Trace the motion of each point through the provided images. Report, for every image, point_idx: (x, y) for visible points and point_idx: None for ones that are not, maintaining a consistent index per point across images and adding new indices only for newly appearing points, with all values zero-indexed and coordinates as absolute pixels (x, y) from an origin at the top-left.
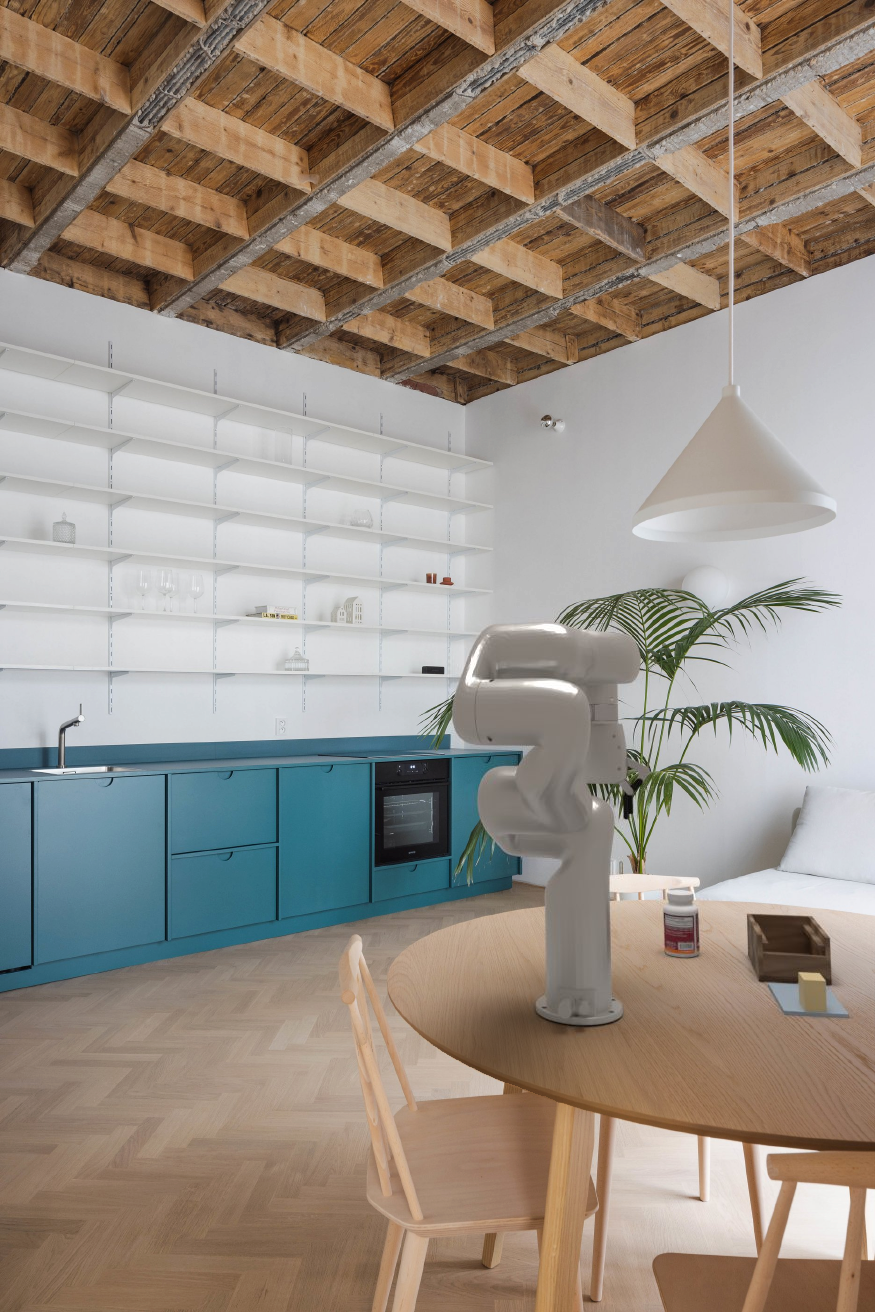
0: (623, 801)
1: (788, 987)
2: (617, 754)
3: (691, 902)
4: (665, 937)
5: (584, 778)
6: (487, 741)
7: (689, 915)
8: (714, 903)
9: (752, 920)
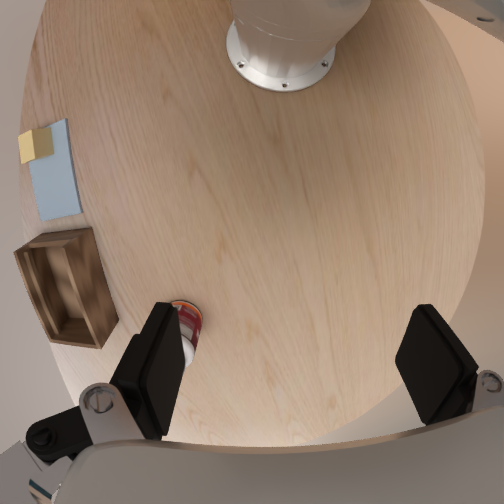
0: (151, 360)
1: (64, 202)
2: None
3: None
4: (196, 322)
5: (447, 448)
6: None
7: None
8: None
9: (86, 319)
